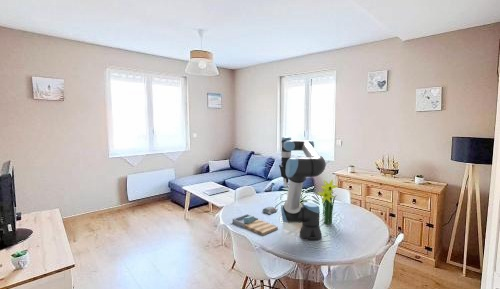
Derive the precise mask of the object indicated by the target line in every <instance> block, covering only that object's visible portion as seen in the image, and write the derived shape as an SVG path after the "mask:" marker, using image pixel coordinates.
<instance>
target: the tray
mask: <svg viewBox="0 0 500 289" xmlns="http://www.w3.org/2000/svg"><path fill="white" fill-rule="evenodd" d="M248 216H252V214H251V215H250V214H244V215H241V216H237V217H235V218H232V223H233V224H234V225H237V226H239V227H242V228H244V225H245V224H248V223H244V219H243V218H245V217H248ZM254 220H255V221H256V220H259V218H258V217H256V216H254Z"/></svg>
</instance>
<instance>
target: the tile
mask: <svg viewBox="0 0 500 289" xmlns="http://www.w3.org/2000/svg"><path fill="white" fill-rule="evenodd" d="M254 217H255V216H254V215H251V216H248V217H245V218H243V219H244V223H251V222H254V221H255V220H254Z"/></svg>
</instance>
